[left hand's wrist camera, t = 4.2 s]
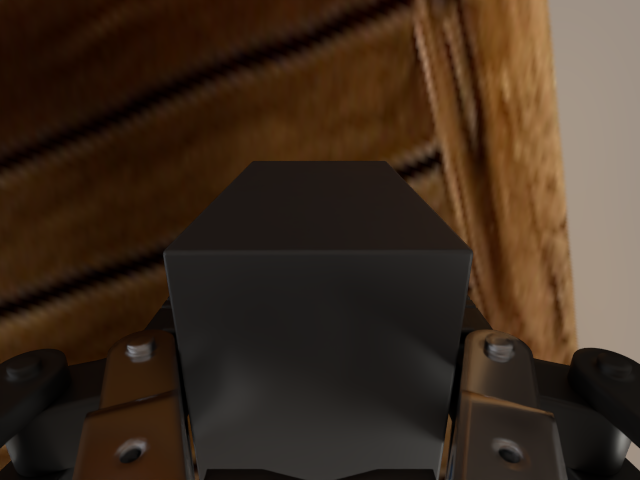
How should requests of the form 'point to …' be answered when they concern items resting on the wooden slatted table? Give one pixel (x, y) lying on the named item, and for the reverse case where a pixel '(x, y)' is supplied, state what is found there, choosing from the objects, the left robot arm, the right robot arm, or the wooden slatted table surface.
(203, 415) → the bar
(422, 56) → the wooden slatted table surface
